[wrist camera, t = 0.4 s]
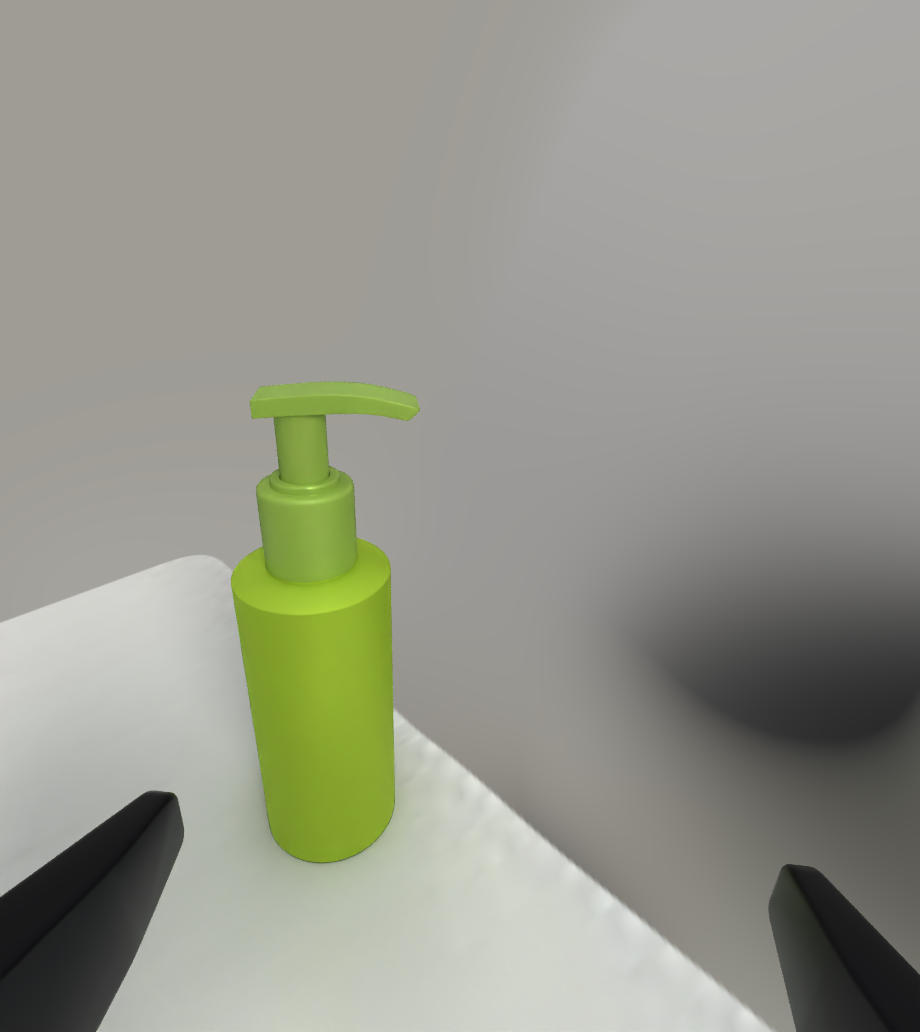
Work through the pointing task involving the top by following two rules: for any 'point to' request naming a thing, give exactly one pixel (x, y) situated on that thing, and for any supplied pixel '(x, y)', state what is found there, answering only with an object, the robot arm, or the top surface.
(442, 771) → the top surface
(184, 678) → the top surface
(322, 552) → the soap dispenser
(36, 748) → the top surface
